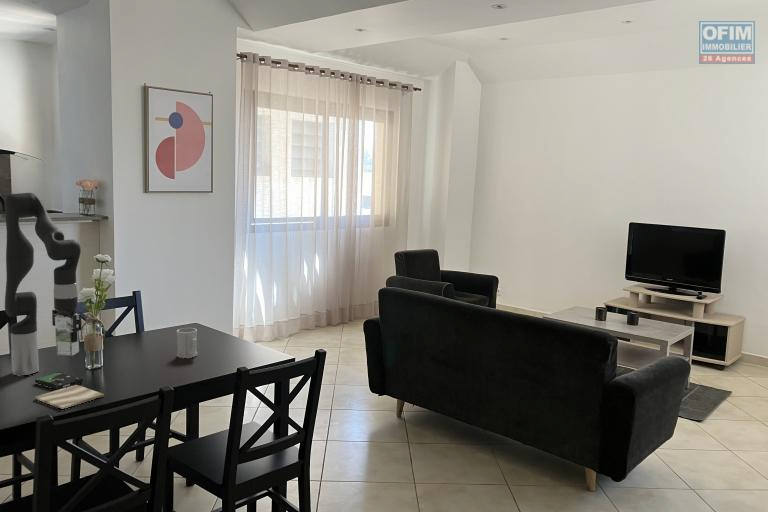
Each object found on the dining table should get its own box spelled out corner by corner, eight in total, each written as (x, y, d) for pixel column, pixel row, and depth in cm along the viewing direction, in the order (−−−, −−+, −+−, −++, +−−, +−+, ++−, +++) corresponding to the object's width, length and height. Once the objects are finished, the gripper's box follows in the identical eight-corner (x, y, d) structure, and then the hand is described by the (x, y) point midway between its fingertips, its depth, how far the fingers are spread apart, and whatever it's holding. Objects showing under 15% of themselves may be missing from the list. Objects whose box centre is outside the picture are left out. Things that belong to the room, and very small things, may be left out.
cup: (203, 353, 285) (203, 328, 283) (196, 359, 276) (195, 333, 274) (182, 352, 286) (181, 327, 284) (173, 358, 277) (173, 332, 275)
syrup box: (79, 351, 227) (78, 312, 225) (72, 356, 221) (70, 316, 219) (63, 351, 226) (62, 312, 224) (55, 356, 221) (54, 316, 219)
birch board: (34, 399, 223) (34, 396, 223) (76, 387, 237) (76, 384, 237) (62, 410, 215) (61, 407, 214) (104, 397, 228) (103, 394, 228)
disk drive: (83, 384, 242) (58, 377, 249) (83, 377, 242) (58, 371, 248) (59, 392, 233) (34, 385, 239) (59, 385, 233) (33, 378, 239)
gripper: (43, 294, 221) (45, 339, 223) (67, 300, 214) (69, 345, 216) (64, 291, 228) (65, 334, 230) (87, 296, 220) (89, 341, 222)
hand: (67, 340), depth 223 cm, fingers closed on syrup box, 8 cm apart
